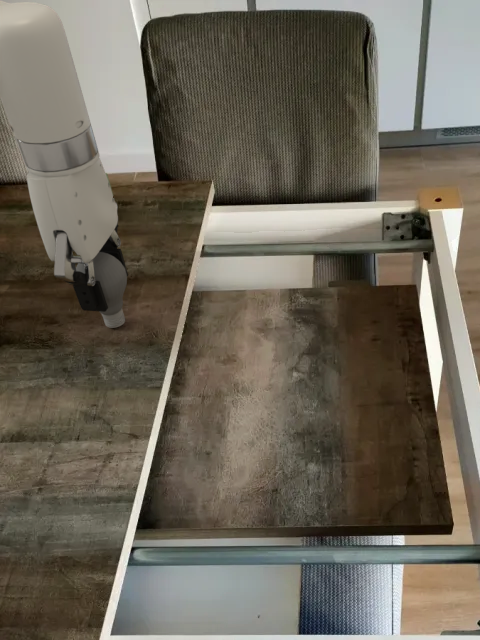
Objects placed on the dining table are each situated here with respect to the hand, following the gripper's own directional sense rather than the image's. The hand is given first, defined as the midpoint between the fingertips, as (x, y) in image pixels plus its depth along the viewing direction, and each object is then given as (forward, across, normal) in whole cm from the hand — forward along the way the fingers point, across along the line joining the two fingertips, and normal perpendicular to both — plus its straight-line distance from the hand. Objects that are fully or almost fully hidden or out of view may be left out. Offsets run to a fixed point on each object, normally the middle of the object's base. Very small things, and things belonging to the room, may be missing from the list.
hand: (105, 291), depth 80 cm
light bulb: (+5, 0, 0) cm, 5 cm away
